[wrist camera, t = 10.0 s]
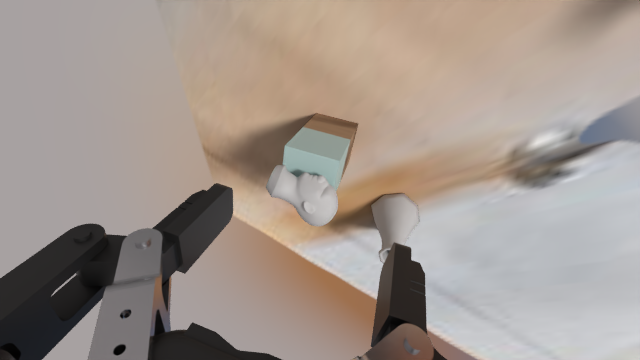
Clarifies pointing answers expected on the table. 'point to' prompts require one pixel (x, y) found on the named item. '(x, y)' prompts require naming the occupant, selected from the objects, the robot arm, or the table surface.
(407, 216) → the flask
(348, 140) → the tower top
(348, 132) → the tower bottom
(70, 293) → the robot arm
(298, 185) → the mannequin head
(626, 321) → the table surface
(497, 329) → the table surface
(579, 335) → the table surface
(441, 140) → the table surface
